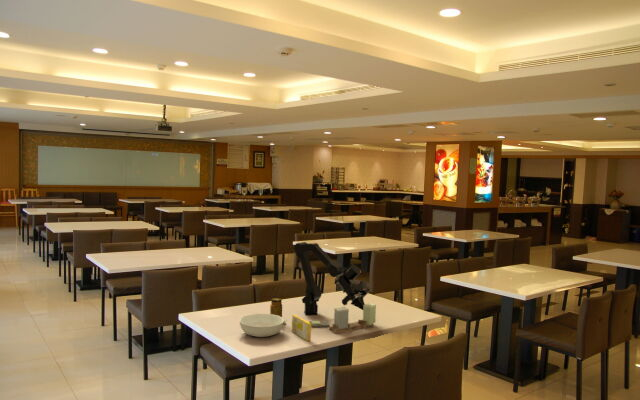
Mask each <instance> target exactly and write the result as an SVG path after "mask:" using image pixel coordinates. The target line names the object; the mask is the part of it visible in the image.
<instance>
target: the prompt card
mask: <svg viewBox="0 0 640 400" xmlns="http://www.w3.org/2000/svg"><path fill="white" fill-rule="evenodd" d="M308 322H310V323H311V329H313V328H329V327H330V326H331V324H330V323H329V321H328V320H313V321H312V320H311V321H308Z"/></svg>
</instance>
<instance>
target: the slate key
mask: <svg viewBox="0 0 640 400" xmlns="http://www.w3.org/2000/svg"><path fill="white" fill-rule="evenodd" d="M333 310H334V312H333V313H334V317H333V318H334V319H333V320H334V321H333V324H335V325H337V326H338V329H345V328H348V324H349V312H350V309H349V308H348V307H345V306H342V307H335V308H333Z"/></svg>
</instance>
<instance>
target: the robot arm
mask: <svg viewBox="0 0 640 400" xmlns="http://www.w3.org/2000/svg"><path fill="white" fill-rule="evenodd" d="M293 251H294V254H295V255H296V257H297V258H298V259H299V262H300V265H301V269H302V272H303V276H304V281H305V285H306V286H305V296H304V297H302V299H301V301H302V304H304V311H303V313H304V316H317V315H318V311H319V307H318V306H319V305H318V303H317V302H319V301H320V299H321V297H322V294H323V293H322V292H323V291H322V289H321V285H320V284H318V283H316V281H315V277H314V273H313V269H312V265H311V261H310V254H311V253H310V252H312V253H313V255H315V256H316V258H318V260H320V262H321V263H322V264H323V265H324V266H325V268H326V271H327V273H328V275H330V276H331V277H332V278H334V282H333V283H334V285H337V284H338V285H339V286H340V287H341V289H342V293H344V294H346V296H344V297H343V299H341V303H342V305H343V306H347V305H348V303H349V302H350V305H352V306H354V307H356V308H358V309H360V310H362V311H363V305H365V301H364V298H365V297H366V296H367V295H368V294H369V293H370V291H369V289H368V288H367V285H368V284H367V282H366V281H365V280H364V279H363V280H361V281H359V283H357V284H356V283H355V282H352V281H354V280H355V279H356V278H357V277H358V276H359V275H360V274H361V269H360V267H359V266H357V265H355V264H354V263H349V265H348V266H347V267H343V265H341V263H339V262H338V261H335V260H333V259H332V258H331V257H330V256H329V255H328V254H327V253H326V252H325V251H324V250H323V248H322V247H321V246H320V244H318V243H316V242H315V243H314V242H313V243H308V242H306V241H302V242H297V243H295V244H294V246H293Z"/></svg>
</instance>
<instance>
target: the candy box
mask: <svg viewBox="0 0 640 400" xmlns="http://www.w3.org/2000/svg"><path fill="white" fill-rule="evenodd" d="M291 332H292V333H293V334H295V335H296V336H298V337H300V338H302V339H303V340H304V341H306V342H310V341H311V340H312V339H311V337H312V336H311V335H312V328H311V323H310V322H309V321H308V320H306V319H304V318H302V317H300V316H299V315H297V314H292V317H291Z"/></svg>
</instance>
